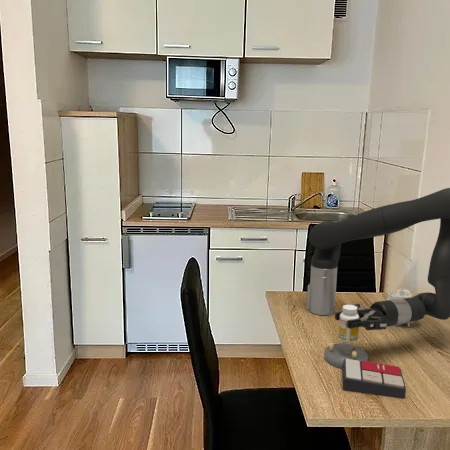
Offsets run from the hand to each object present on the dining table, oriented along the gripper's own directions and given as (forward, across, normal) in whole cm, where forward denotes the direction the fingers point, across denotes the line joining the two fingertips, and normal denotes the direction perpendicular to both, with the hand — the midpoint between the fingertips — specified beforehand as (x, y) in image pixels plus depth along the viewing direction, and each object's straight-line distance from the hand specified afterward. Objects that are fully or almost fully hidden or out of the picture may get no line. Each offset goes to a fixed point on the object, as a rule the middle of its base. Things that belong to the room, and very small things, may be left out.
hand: (341, 320), depth 133 cm
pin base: (-2, 0, +12) cm, 13 cm away
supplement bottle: (-3, 0, +6) cm, 7 cm away
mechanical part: (-36, -17, +13) cm, 42 cm away
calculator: (-1, +13, +13) cm, 19 cm away
